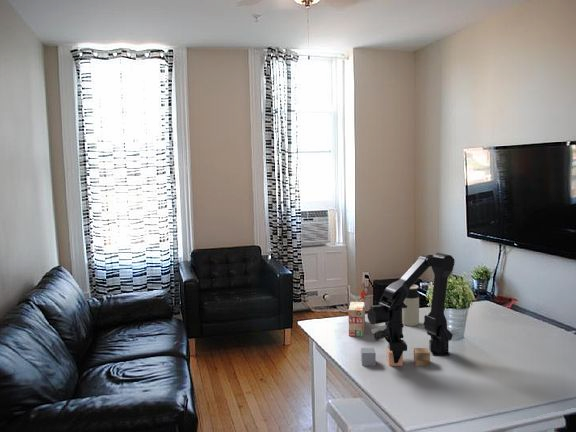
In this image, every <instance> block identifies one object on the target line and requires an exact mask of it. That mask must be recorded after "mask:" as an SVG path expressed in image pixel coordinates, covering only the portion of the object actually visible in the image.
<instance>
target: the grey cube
mask: <svg viewBox="0 0 576 432" xmlns="http://www.w3.org/2000/svg"><path fill="white" fill-rule="evenodd" d="M360 361H361V366H365V367H366V366H368V367H370V366H371V367H372V366H374V367H376V362H377V361H376V350H375V347H360Z"/></svg>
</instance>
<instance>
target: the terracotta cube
mask: <svg viewBox="0 0 576 432" xmlns="http://www.w3.org/2000/svg"><path fill="white" fill-rule="evenodd" d="M386 352H387V353H386V358H387V359H386V361H387V363H388V366H390V367H393V366H394V367H395V366H399V367H402V366H403V363H404V360H403V359H404V358H403V357H404V356H403V355H404V354H403V353H404V352H403V353H402V355H401V357H400V359H399V361H398V363H394V358H393V353H392V351H390V350H389V347H387V349H386Z"/></svg>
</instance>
